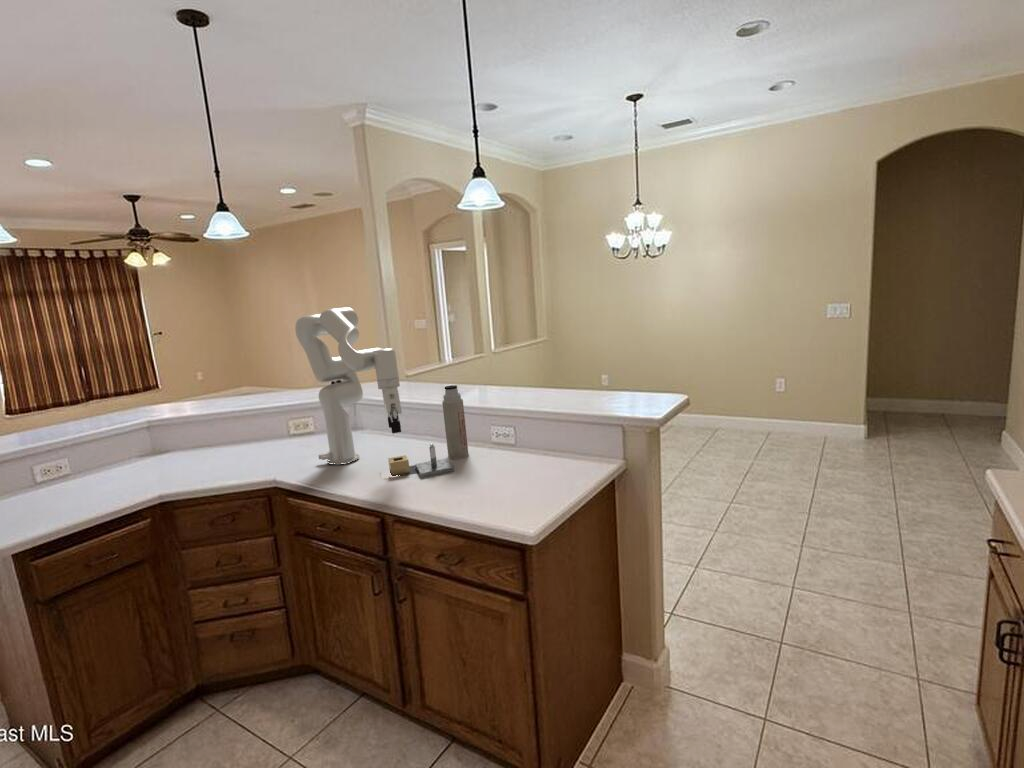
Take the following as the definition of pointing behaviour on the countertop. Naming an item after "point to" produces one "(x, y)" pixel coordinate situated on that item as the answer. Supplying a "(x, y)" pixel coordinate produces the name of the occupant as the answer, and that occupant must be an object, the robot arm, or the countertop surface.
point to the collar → (399, 465)
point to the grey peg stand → (434, 465)
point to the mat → (411, 471)
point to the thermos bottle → (454, 423)
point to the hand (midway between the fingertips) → (395, 429)
